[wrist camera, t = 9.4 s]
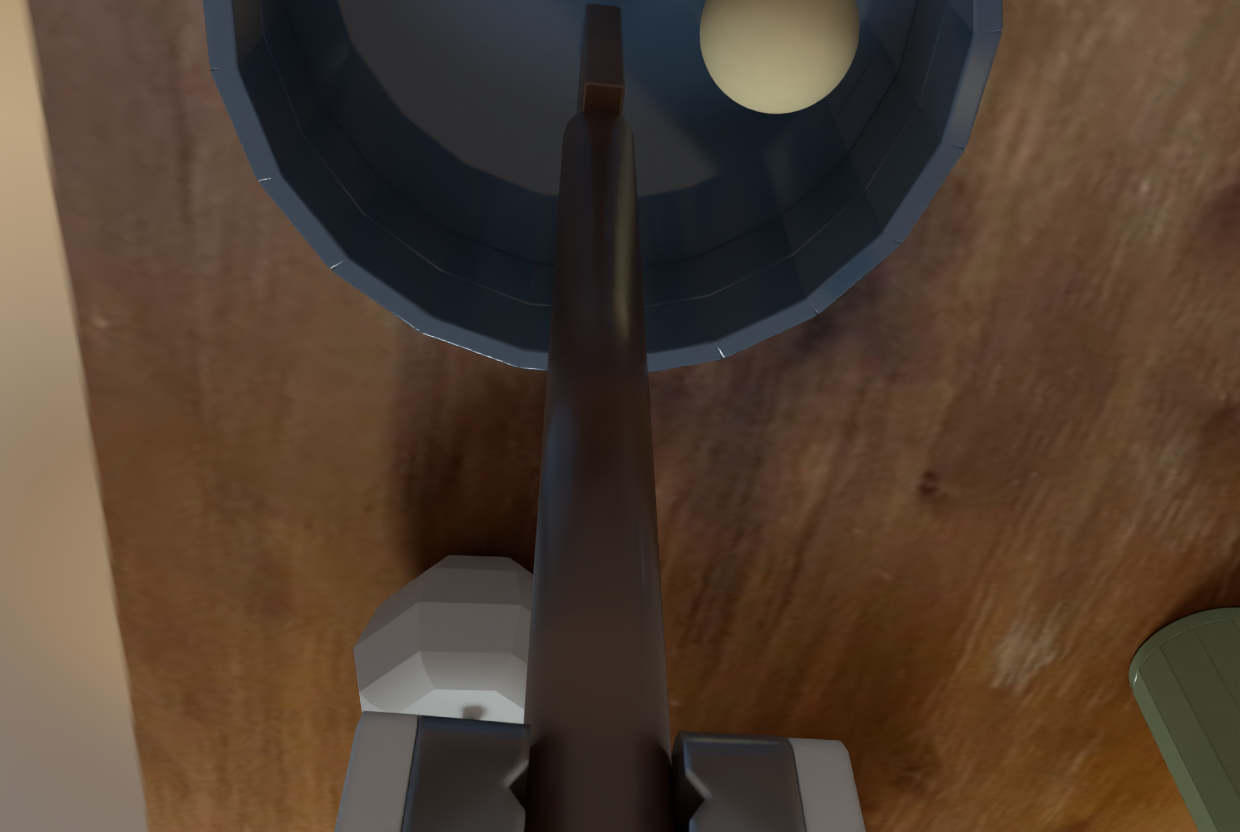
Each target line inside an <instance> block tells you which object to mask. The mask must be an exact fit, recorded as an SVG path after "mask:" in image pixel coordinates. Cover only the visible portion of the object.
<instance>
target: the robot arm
mask: <svg viewBox="0 0 1240 832" xmlns="http://www.w3.org/2000/svg"><path fill="white" fill-rule="evenodd" d="M530 727H531V724H521V723H509V722H498V721H486V720H475V719H463V718H452V717H441V716H429V715H419V714H404V713H390V712H375V711H363V714H362V716H361V718H360V721H359V723H358V725H357V728H356V732H355V737H354V741H353V746H352V751H351V755H350V760H349V765H348V769H347V774H346V779H345V783H344V788H343V793H342V798H341V802H340V807H339V812H338V816H337V821H336V826H335V830H334V832H524V828H525V813H526V811H525V810H524V806H525V796H526V785H527V774H528V764H529V744H530ZM671 764H672V783H673V802H674V819H675V823H676V832H866V831H865V827H864V822H863V817H862V813H861V808H860V804H859V799H858V794H857V790H856V785H855V781H854V776H853V772H852V767H851V762H850V758H849V753H848V751H847V749H846V748H845V746H844V745H843V743H842V742H841V741H837V740H821V739H801V738H784V736H773V735H751V734H730V733H708V732H687V731H679V733H678V735H677V736H676V738H675V742H674V746H673V750H672V754H671Z"/></svg>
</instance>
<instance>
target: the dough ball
mask: <svg viewBox="0 0 1240 832" xmlns="http://www.w3.org/2000/svg"><path fill="white" fill-rule="evenodd" d="M859 28H860V21H859V11H858V7H857V3H856V0H706V2H705V5H704V8H703V12H702V16H701V22H700V46H701V51H702V56H703V59H704V62H705V65H706V67H707V69H708V71H709V73H710V75H711V77H712V78H713V80H714V81H715V83H716V84H717V85H718V87H719V88H720V89H721V90H722V91H723V92H724V93H725V94H726V95H727V96H729V97H730V98H731V99H732V100H734V101H735V102H737V103H738V104H740V105H742V106H744V107H746V108H749V109H752V110H755V111H759V112H764V113H773V114H780V113H789V112H794V111H798V110H801V109H804V108H807V107H809V106H811V105H813V104H815V103H816V102H818V101H820V100H821V99H823V98H824V97H825V96H827V95H828V94H829V93H830V92H831V91H832V90H833V89H834V88H835V87H836V86H837V85H838V84H839V83H840V81H841V80H842V79H843V77H844V76H845V74H846V73H847V71H848V69H849V67H850V65H851V63H852V61H853V59H854V56H855V53H856V50H857V46H858V40H859Z"/></svg>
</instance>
